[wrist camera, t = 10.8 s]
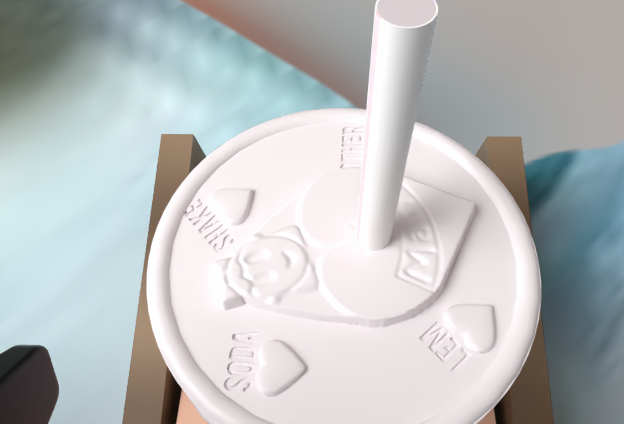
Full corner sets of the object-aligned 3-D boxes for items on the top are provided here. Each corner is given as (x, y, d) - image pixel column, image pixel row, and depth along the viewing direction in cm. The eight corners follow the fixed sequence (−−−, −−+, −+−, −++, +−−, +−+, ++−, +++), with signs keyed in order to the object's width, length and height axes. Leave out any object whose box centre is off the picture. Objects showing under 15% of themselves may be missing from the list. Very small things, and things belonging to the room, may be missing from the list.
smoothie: (471, 456, 15) (996, 218, 3) (266, 533, 14) (-69, 603, 2) (389, 271, 18) (498, -190, 6) (218, 325, 18) (-25, -91, 6)
